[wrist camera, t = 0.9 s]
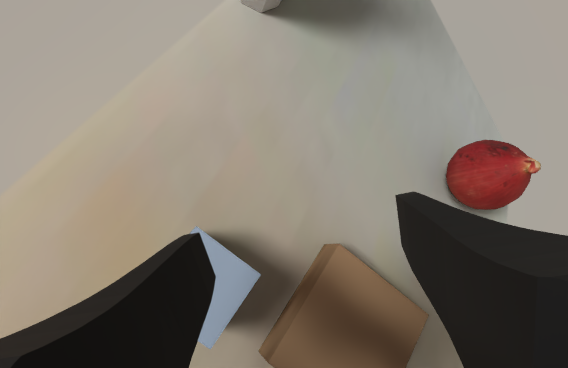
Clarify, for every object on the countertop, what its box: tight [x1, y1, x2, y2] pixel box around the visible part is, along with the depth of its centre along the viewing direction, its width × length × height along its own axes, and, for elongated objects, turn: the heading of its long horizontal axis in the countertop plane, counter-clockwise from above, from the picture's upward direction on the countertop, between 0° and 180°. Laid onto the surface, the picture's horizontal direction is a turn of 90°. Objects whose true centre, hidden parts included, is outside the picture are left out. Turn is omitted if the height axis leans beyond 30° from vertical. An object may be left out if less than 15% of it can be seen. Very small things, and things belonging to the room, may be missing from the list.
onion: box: [446, 140, 541, 210], centre depth 27 cm, size 6×6×8 cm
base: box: [259, 244, 429, 368], centre depth 24 cm, size 9×9×2 cm
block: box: [190, 226, 261, 349], centre depth 20 cm, size 4×4×6 cm
